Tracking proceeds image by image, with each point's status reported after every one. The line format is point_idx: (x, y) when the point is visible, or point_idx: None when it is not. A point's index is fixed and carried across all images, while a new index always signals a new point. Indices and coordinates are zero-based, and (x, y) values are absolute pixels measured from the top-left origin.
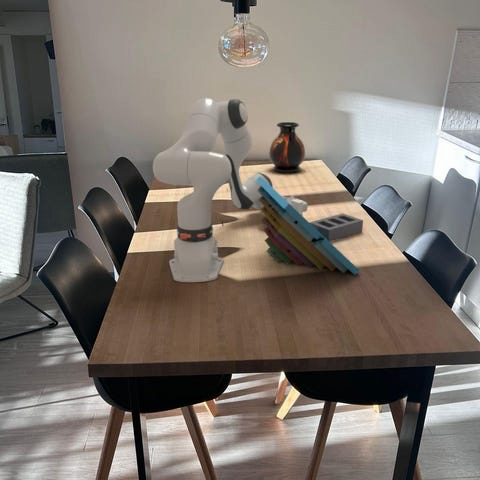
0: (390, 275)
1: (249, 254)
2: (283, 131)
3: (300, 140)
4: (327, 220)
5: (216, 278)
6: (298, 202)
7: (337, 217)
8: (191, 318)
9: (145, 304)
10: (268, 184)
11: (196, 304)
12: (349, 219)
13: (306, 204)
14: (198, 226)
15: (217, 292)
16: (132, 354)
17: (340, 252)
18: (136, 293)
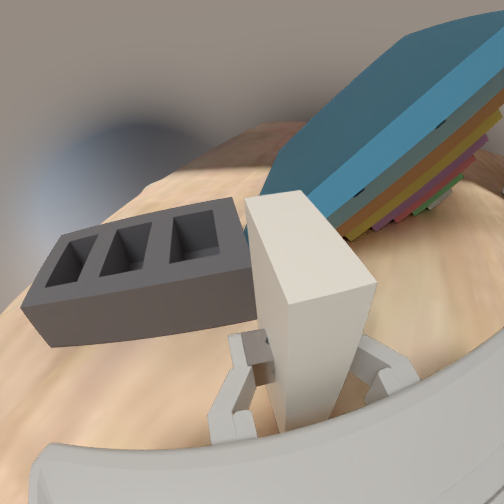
0: (236, 154)
1: (489, 235)
2: None
3: None
4: (147, 262)
5: (502, 191)
6: (299, 199)
7: (79, 277)
8: (486, 162)
9: None
10: (463, 18)
11: (494, 171)
12: (61, 267)
13: (62, 443)
14: None
15: (485, 175)
16: (500, 156)
17: (315, 115)
18: None
